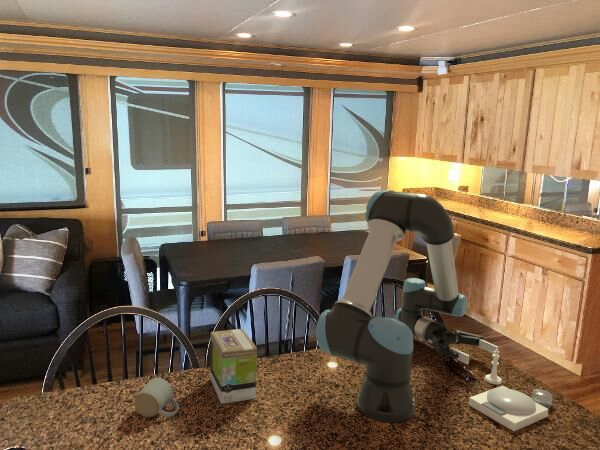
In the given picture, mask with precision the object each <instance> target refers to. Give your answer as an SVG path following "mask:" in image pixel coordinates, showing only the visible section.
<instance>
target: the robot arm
mask: <svg viewBox="0 0 600 450" xmlns="http://www.w3.org/2000/svg"><path fill="white" fill-rule="evenodd" d="M365 209H366V211H365V214H364V215H365V216H364V217H365V220H366V223H367V228H368V230H369V232H368V235H367V237H366V240H365V241H364V244H363V247H362V249H361V252H360V255H359V257H358V260H357V261H356V264H355V267H354V269H353V271H352V274H351V277H350V279H349V281H348V284H347V286H346V289H345V291H344V294H343V296H342V298H341V299H340V300H337V301H335V302H334V304H333V306H332V309H325V310H323V312H321V314H319V318H318V321H317V324H316V331H315V335H316V336H315V337H316V343H317V345H318V347H319V349H320V350H321V351H323V352H325V353H326V354H329V355H331V356H333V357H337V358H341V359H345V360H347V361H351V362H353V363H356V364H359V365H363V366H365V376H364V380H363V382H362V384H361V388H360V389H359V391H358V393H357V401H356V405H357V408H358V410H359V411H360V412H361V413H362V414H363V415H365V416H366V417H368V418H370V419H372V420H375V421H378V422H383V423H401V422H405V421H408V420H409V419H411V418H412V417H413V416H414V414H415V411H416V400H415V397H414V394H413V390H412V386H411V373H412V365H413V364H412V362H413V353H414V349H415V348H414V336H415V337H418V338H419V339H422V340H423V341H426V342H427V344H428V345H430V346H431V347H432V348H433V349H434V351H436V353H437V354H438V355H439V356H440V357H445V358H446V359H449V358H450V357H451V358H452V359H455V360H458V361H459V362H461V363H463V364H465V365H469V364H470V354H467V353H465V352H462V351H461V350H459V349H456V348H455V347H451V346H450V345H453V344H454V345H460V344H463V345H468V346H477V347H478V348H479V349H482V350H483V351H486V352H488V353H490V354H492V355H493V354H495V353H493V351H496V349H498V350H499V346H497V345H495V344H493V343H491V342H488V341H487V340H485V336H484V335H483V336H482V335H479V334H474V333H469V332H465V331H461V330H460V329H459V330H458V329H454V332H453V331H450V330H448V329H447V326H446V325H444V324H443V323H441V322H438V321H436V320H434V319H432V318H429V317H428V316H425V315H423V312H424V309H425V310H428V311H431V312H437V313H441V314H445V315H449V316H454V317H463V316H464V315H465V313H466V311H467V308H468V297H467V296H466V294H462V293H460V292H459V287H458V278H457V271H456V266H455V265H456V264H455V256H454V255H455V254H454V249H453V239H454V237H455V230H454V229H455V228H454V224H453V221H452V218H451V216H450V214H449V212H448V211H447V210H446V209H445V207H444V206H443V205H442V204H441V203H440V202H439V201H438V200H437V199H436V198H434V197H433V196H430V195H429V194H424V193H414V192H404V191H403V192H402V191H395V190H391V189H389V190H378V191H375V192H374V193H373V194H372V195H371V196H370V198H369V200H368V201H367V204H366V208H365ZM407 232H412V233H418V234H420V235H421V239H422V242H424V243H425V244H426V249H427V253H428V259H429V265H430V270H431V275H432V281H433V287H434V288H432V287H428V286H427V285H426V282H425V280H424V279H420V278H418V277H417V278H416V277H411V278H410V277H409V278H406V279H405V280H404V281H403V288H402V295H401V296H402V300H401V307H400V308H398V309H397V310H396V312H395V314H394V317H393V318H392V317H388V316H387V317H384V316H376V317H374V316H373V315H372V312H371V310H372V307H373V304H374V302H375V299H376V296H377V294H378V291H379V289H380V286H381V283H382V281H383V279H384V276H385V273H386V270H387V268H388V266H389V263H390V260H391V258H392V255H393V252H394V250H395V246H396V244H397V242H399V241H402V240H404V238H405V235H406V233H407ZM450 347H451V348H450ZM497 355H499V353H497Z"/></svg>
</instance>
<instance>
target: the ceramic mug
mask: <svg viewBox="0 0 600 450" xmlns="http://www.w3.org/2000/svg"><path fill="white" fill-rule="evenodd" d="M173 391H174V390H173V388H172V386H171V384H170V383H169V382H168V381H167V380H165V379H163V378H161V377H154V378H153V377H152V379H150V380H149V381H148V382H147V383H146V384H145V385H144V386H143V387H142V389H141V390H140V391H139V392H138V393H137V395H136V396H135V399H134V403H133V404H134V408H135V410H136V412H137V413H138V414H139V415H141V416H142V417H144V418H153V417H156V415H158V414H159V415H160V416H162V417H165V418H173V417H174V416H175V415H177V413H178V411H179V408H180V405H179V403H178V402H177V401H176V399H174V397H173V394H174V392H173ZM169 403H170V404H171V405H172V406H173V407H174V409H175V410H174V411H172V412H171V411H170V412H168V411H166V410H164V408H165V407H166V406H167V405H168V404H169Z"/></svg>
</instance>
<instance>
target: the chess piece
mask: <svg viewBox="0 0 600 450" xmlns="http://www.w3.org/2000/svg"><path fill="white" fill-rule="evenodd" d="M493 353H495V354H492V355H491V356H492V361H491V362H490V363H491V364H492V368H491V372H490V373H489V374H486V375H485V376H484V378H483V379H484V381H485V382H487V383H489V384H491V385H501V384H502V383H503V379H502V378H501V377H500V376H498V374H497V373H498V371H497V368H498V367H497V366H499V364H500V363H499V362H498V360H499V359H500V355H499V354H500V351H499V348H498V349H496V351H493ZM497 353H498V354H497Z"/></svg>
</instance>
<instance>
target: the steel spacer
mask: <svg viewBox="0 0 600 450" xmlns="http://www.w3.org/2000/svg"><path fill="white" fill-rule="evenodd" d="M531 398H532V399H533V400H534V402H536V403H538V404H540V405H542V406H544V407H545V408H547V409H550V408H551V407H552V403H553V394H552V393H551V392H550V391H548V390H546V389H542V388H535V389H533V390H532V394H531Z"/></svg>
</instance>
